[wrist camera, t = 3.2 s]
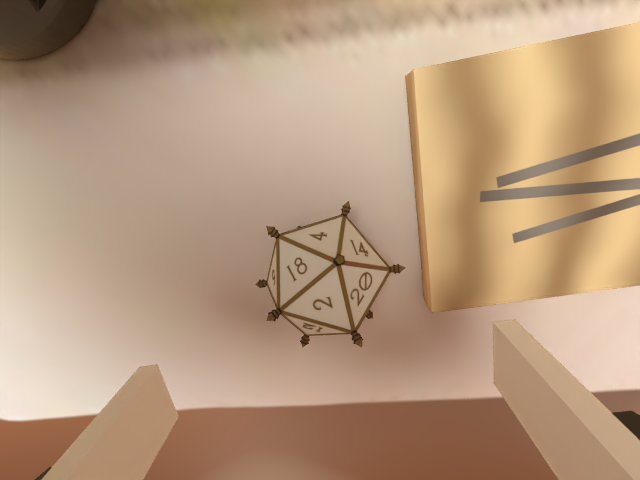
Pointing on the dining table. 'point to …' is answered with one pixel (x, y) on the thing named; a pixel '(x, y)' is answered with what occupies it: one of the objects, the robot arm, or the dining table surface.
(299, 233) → the game die
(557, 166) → the board
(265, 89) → the dining table surface
